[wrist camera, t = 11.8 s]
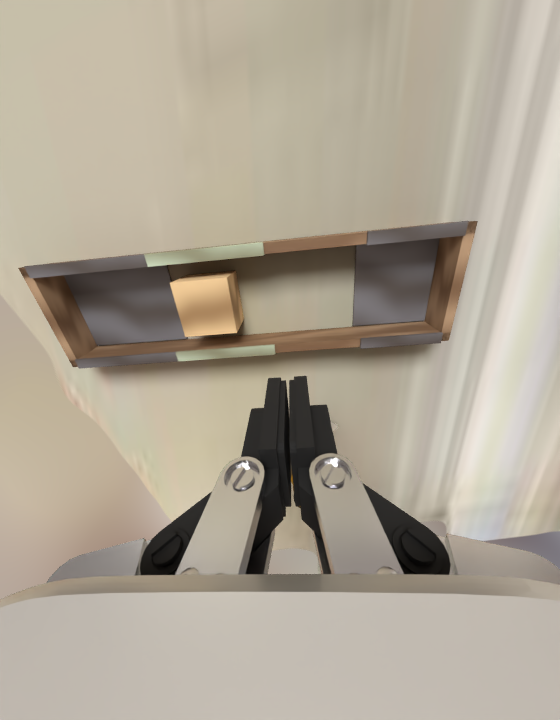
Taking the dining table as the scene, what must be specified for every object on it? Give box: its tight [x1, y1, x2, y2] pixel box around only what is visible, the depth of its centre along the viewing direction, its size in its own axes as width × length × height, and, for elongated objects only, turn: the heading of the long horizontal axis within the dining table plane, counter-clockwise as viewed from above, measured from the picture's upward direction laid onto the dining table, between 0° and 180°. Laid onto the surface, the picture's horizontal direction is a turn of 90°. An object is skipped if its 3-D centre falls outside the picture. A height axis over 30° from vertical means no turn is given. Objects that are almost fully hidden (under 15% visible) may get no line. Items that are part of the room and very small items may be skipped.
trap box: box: [19, 221, 478, 368], centre depth 29 cm, size 12×46×4 cm, turn 95°
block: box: [170, 271, 244, 337], centre depth 29 cm, size 6×6×5 cm
